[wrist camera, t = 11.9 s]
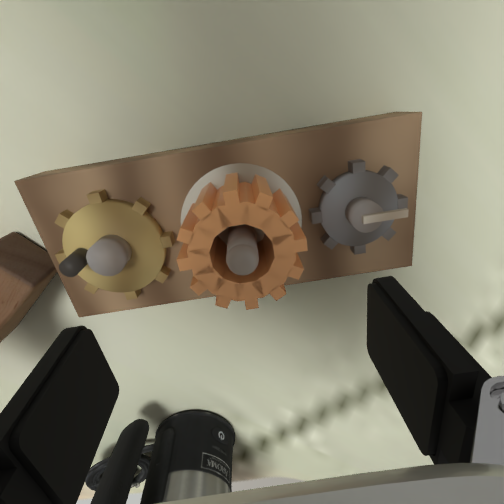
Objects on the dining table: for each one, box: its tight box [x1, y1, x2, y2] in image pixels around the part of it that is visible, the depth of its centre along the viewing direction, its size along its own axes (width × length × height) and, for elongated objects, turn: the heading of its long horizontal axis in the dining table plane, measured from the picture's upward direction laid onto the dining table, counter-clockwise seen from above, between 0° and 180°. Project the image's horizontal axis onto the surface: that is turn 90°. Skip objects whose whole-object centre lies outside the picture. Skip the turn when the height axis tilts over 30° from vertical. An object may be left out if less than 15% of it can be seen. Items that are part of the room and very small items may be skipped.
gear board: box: [14, 112, 422, 317], centre depth 21 cm, size 27×11×10 cm, turn 99°
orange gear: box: [176, 173, 308, 310], centre depth 20 cm, size 7×7×5 cm
